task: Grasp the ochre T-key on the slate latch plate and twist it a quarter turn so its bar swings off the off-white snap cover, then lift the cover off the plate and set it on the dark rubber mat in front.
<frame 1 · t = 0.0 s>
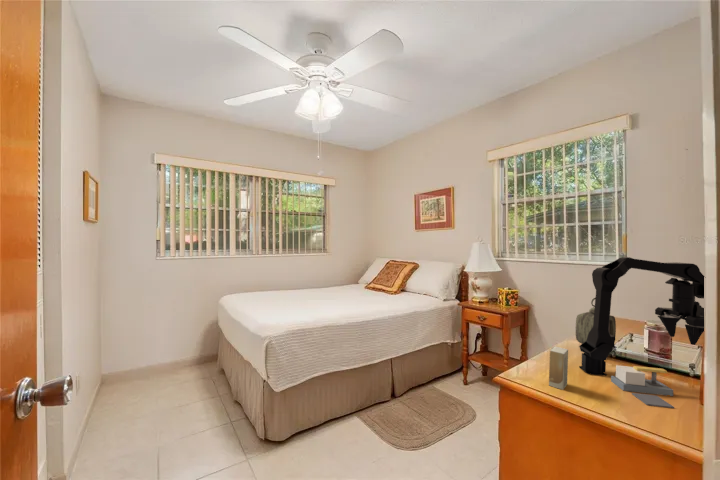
hand: (682, 340, 111), 15 cm above the table, fingers open, 9 cm apart
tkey: (649, 375, 104), point 5 cm above the table, hinge at 0.0°
snap cover: (629, 381, 105), point 2 cm above the table, touching latch base
mat: (652, 400, 96), on the table
latch base: (640, 388, 105), on the table
skincare box: (557, 385, 105), on the table
tabletop clock: (594, 353, 138), on the table
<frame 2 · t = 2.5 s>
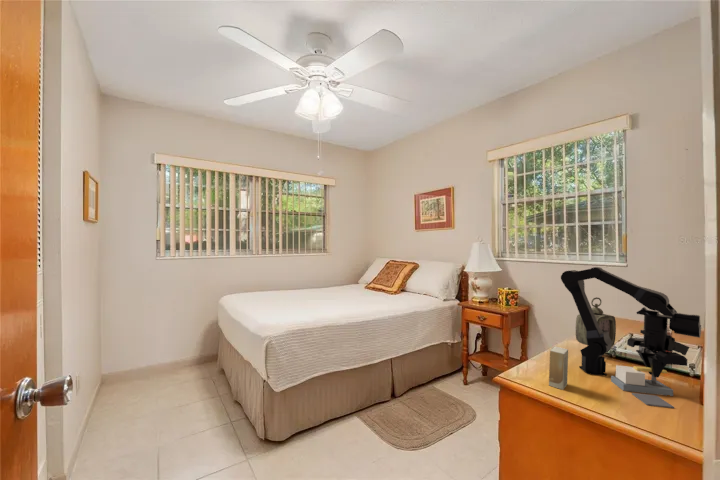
hand: (653, 375, 104), 5 cm above the table, fingers closed on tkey, 2 cm apart
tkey: (649, 375, 104), point 5 cm above the table, hinge at 0.0°, touching gripper
everything else where it was.
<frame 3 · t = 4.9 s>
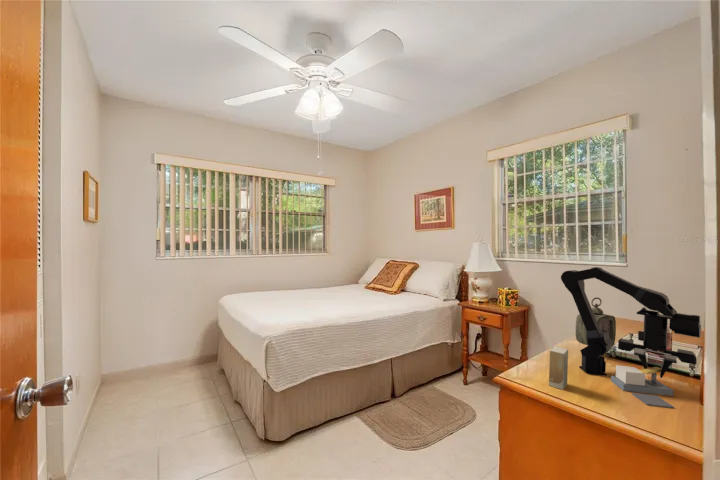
hand: (654, 375, 104), 5 cm above the table, fingers closed on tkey, 3 cm apart
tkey: (651, 376, 103), point 5 cm above the table, hinge at 31.8°, touching gripper
everything else where it was.
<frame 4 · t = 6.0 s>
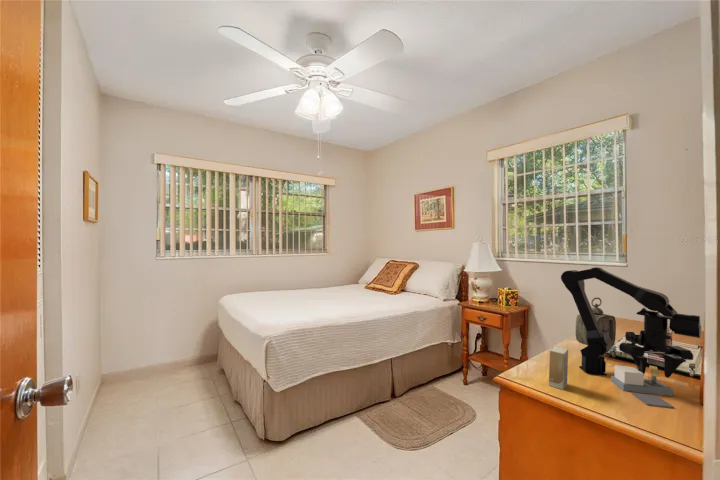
hand: (654, 376, 104), 5 cm above the table, fingers open, 7 cm apart
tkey: (654, 377, 103), point 5 cm above the table, hinge at 63.7°
snap cover: (628, 381, 105), point 2 cm above the table, touching gripper
everything else where it was.
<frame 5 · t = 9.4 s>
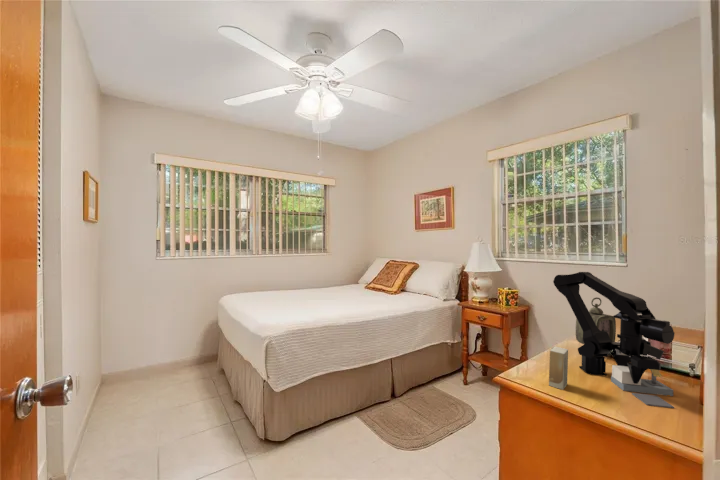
hand: (629, 379, 105), 3 cm above the table, fingers closed on snap cover, 5 cm apart
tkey: (654, 377, 103), point 5 cm above the table, hinge at 66.3°
snap cover: (626, 380, 105), point 2 cm above the table, touching gripper, latch base
everything else where it was.
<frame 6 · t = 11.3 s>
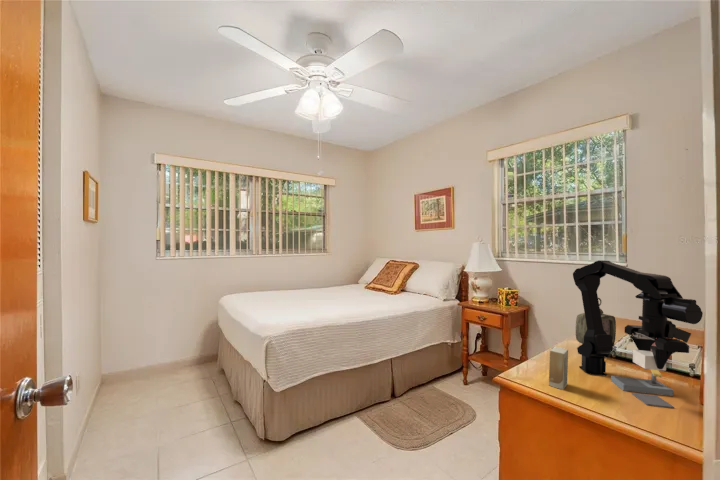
hand: (652, 365, 96), 11 cm above the table, fingers closed on snap cover, 5 cm apart
snap cover: (648, 366, 96), point 11 cm above the table, touching gripper
everything else where it was.
when the fingers open (2 cm above the table, at t = 13.3 s): snap cover drops 1 cm, resting on mat.
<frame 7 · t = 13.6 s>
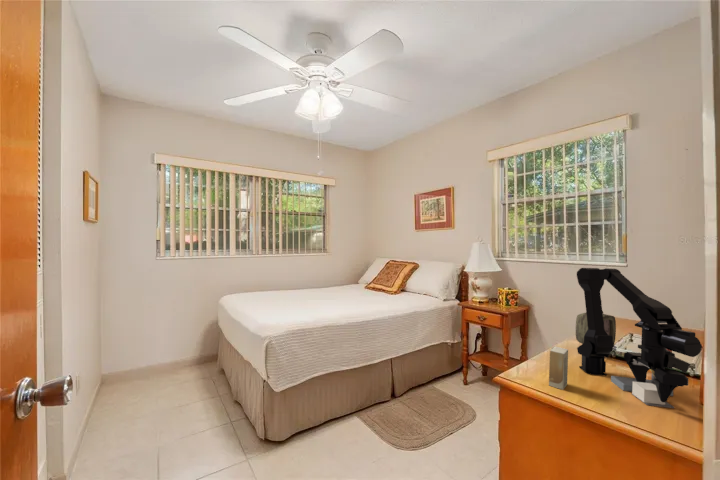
hand: (652, 394, 96), 2 cm above the table, fingers open, 9 cm apart
snap cover: (648, 399, 96), resting on mat
everything else where it was.
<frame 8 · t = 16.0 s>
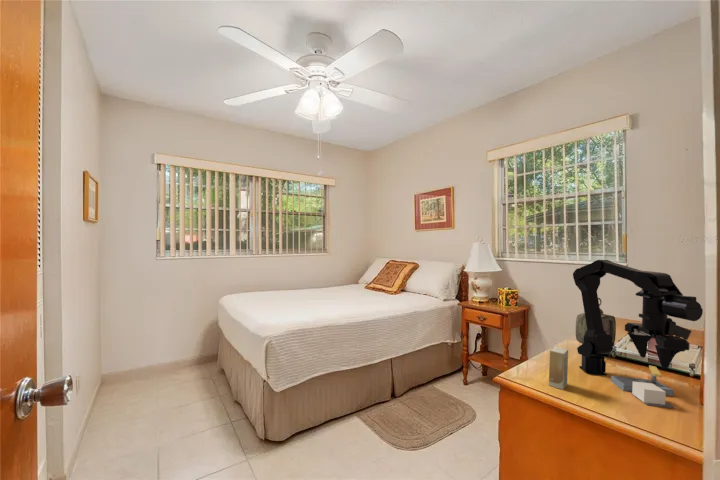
hand: (653, 362, 96), 12 cm above the table, fingers open, 9 cm apart
nothing on the table moved.
at the end: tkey at +66° (first picture: +0°); snap cover inside the target area on the mat (1.0 cm from its centre), point 0.4 cm above the mat's base; snap cover tilted 0° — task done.
